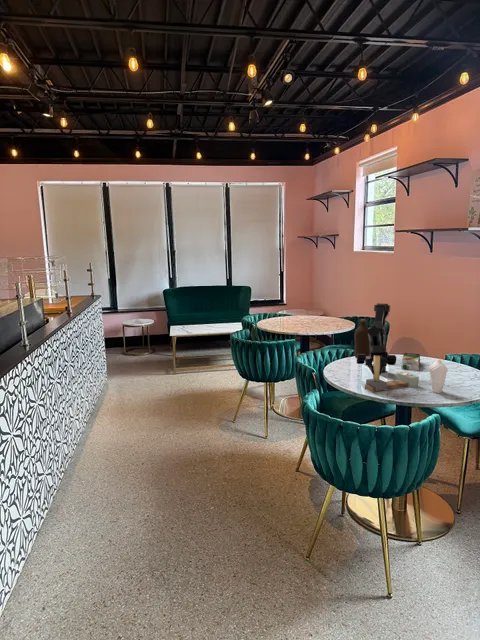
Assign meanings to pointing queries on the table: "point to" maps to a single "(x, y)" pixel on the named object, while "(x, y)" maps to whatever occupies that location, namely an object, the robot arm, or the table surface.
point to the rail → (389, 385)
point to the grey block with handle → (377, 376)
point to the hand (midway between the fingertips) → (376, 374)
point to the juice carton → (411, 361)
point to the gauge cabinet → (408, 379)
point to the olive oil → (362, 339)
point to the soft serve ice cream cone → (437, 376)
